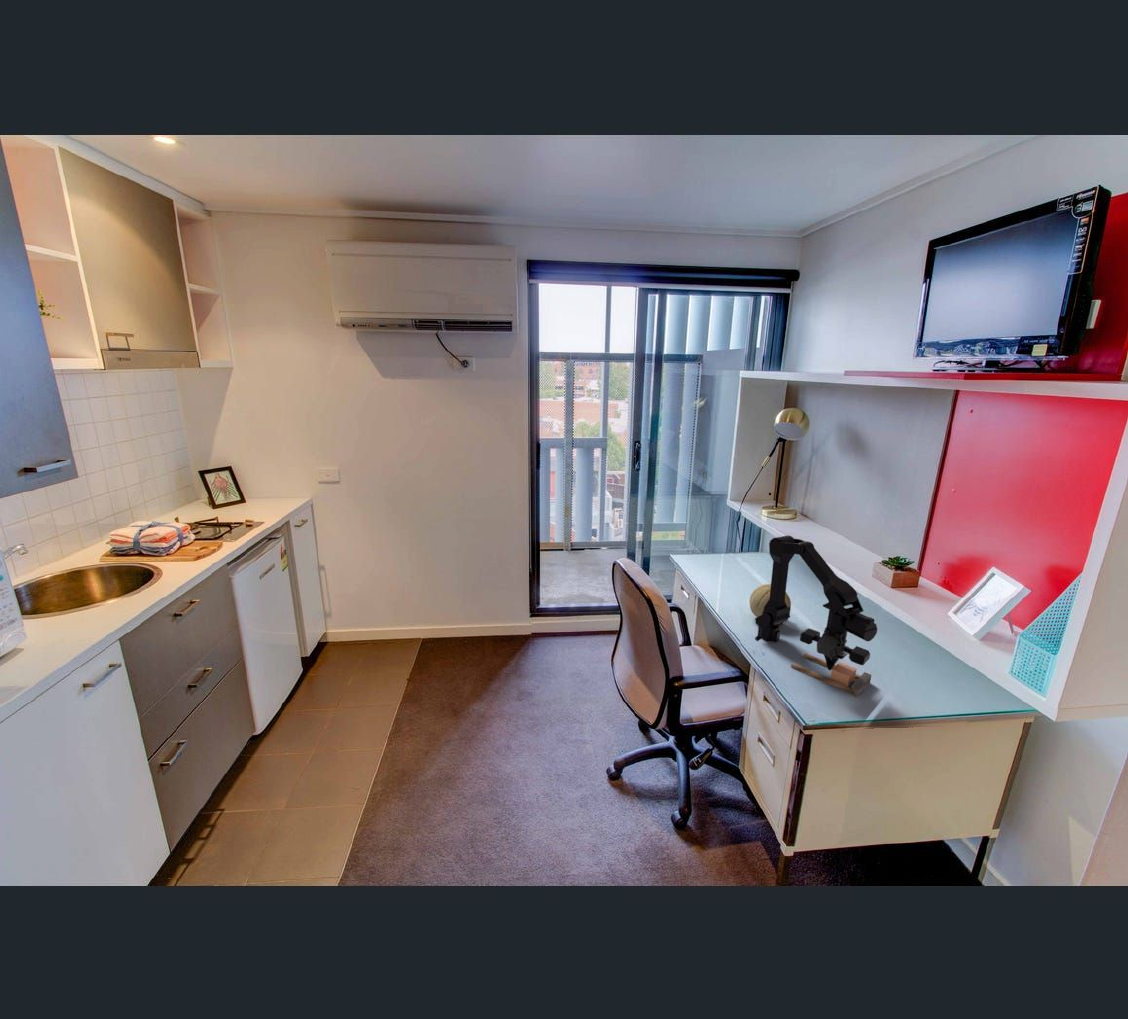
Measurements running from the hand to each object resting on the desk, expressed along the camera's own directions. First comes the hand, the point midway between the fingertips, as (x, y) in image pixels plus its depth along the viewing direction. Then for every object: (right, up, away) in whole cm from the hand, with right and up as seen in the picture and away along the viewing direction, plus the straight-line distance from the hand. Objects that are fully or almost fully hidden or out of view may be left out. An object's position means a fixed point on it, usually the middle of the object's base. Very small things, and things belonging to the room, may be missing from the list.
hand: (829, 669), depth 155 cm
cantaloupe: (-4, +7, +37) cm, 37 cm away
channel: (0, -3, +1) cm, 3 cm away
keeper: (+3, -3, -2) cm, 4 cm away
